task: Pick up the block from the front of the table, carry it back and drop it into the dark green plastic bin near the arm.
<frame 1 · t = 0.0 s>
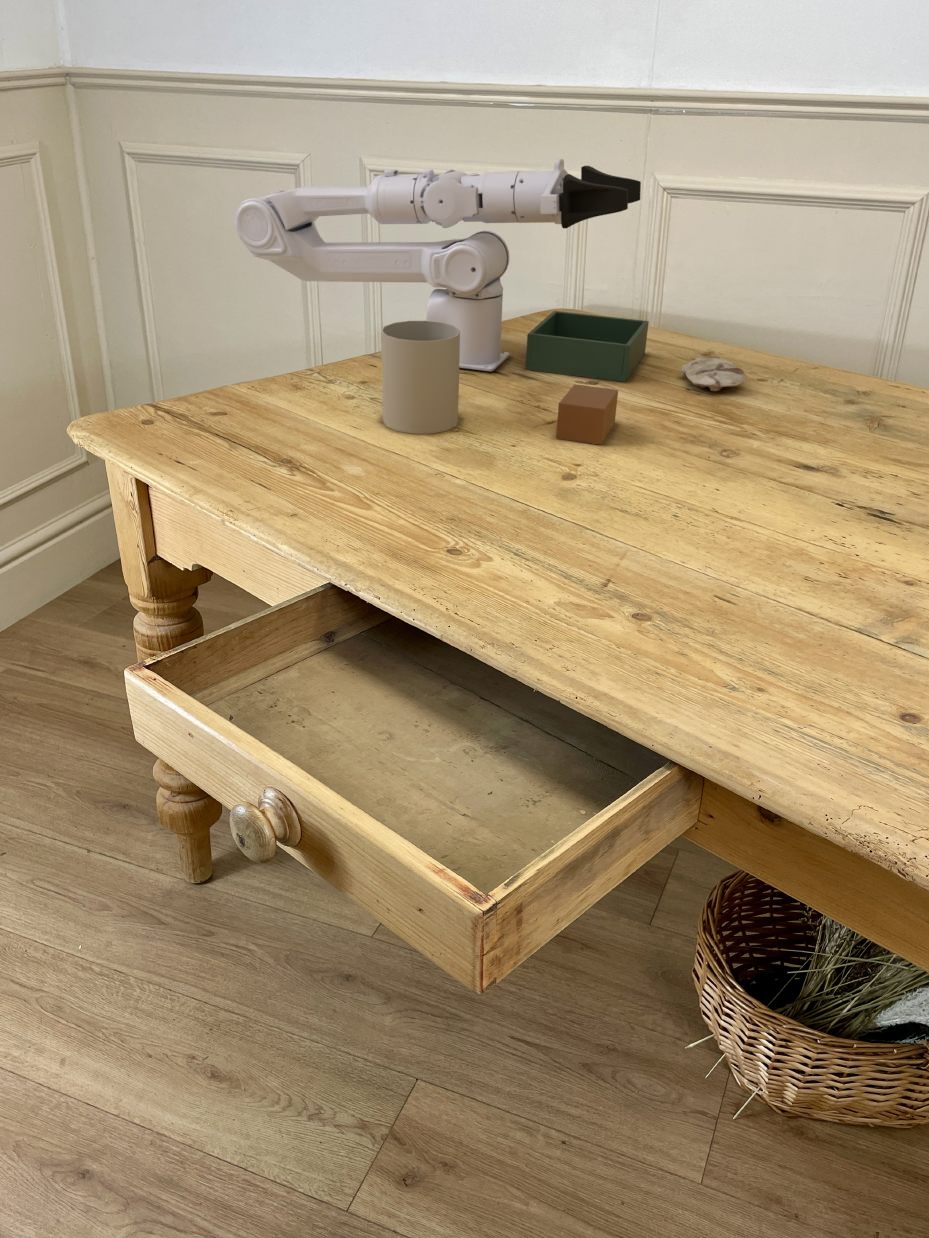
hand: (634, 195, 115), 22 cm above the table, tool horizontal, fingers open, 7 cm apart
stone: (712, 386, 125), on the table
block: (585, 431, 109), on the table
bin: (586, 362, 132), on the table
cup: (420, 422, 111), on the table
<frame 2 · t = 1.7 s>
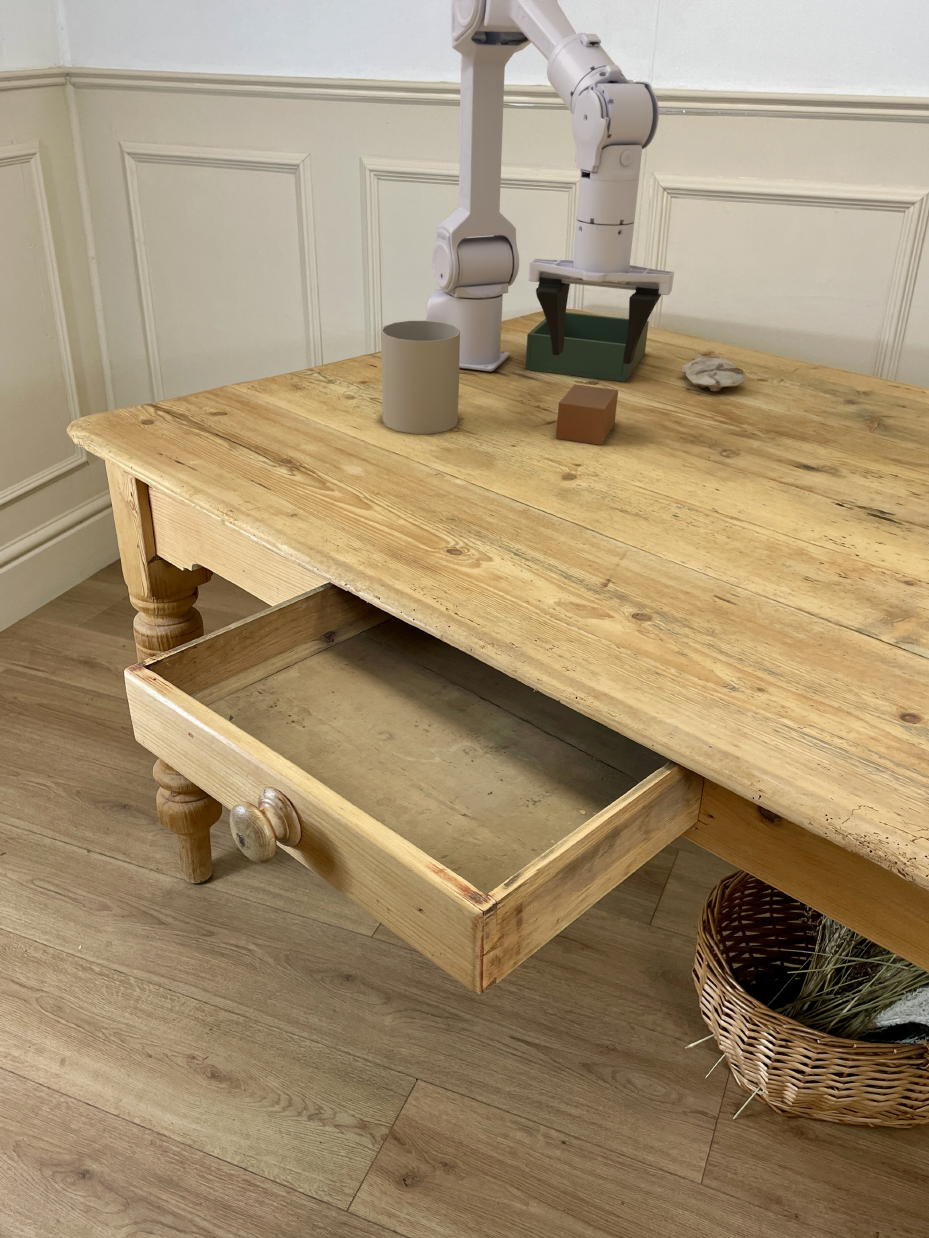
hand: (592, 357, 105), 8 cm above the table, tool pointing down, fingers open, 7 cm apart
nothing on the table moved.
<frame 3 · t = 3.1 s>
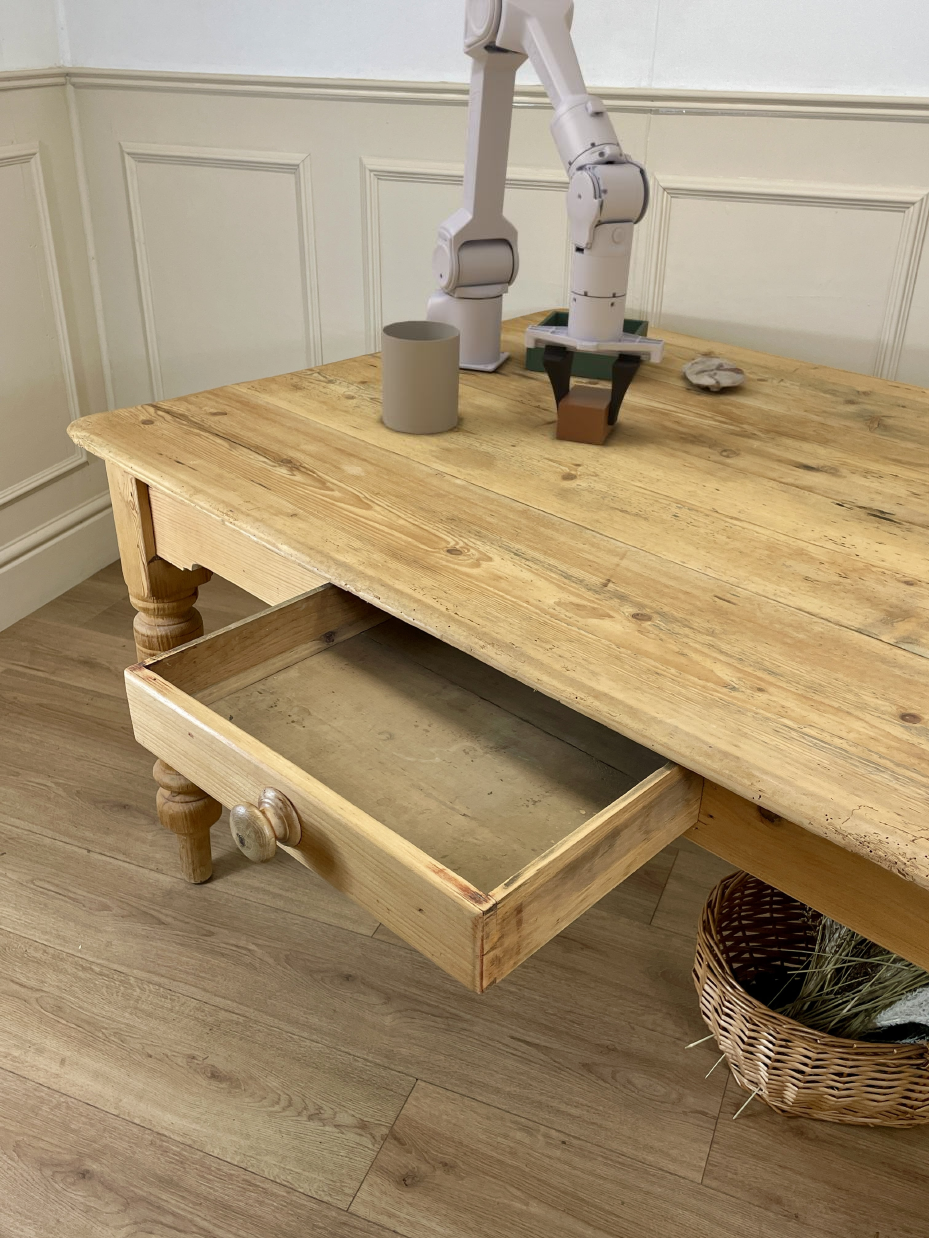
hand: (586, 419, 109), 1 cm above the table, tool pointing down, fingers closed on block, 5 cm apart
block: (586, 431, 109), on the table, touching gripper
everything else where it was.
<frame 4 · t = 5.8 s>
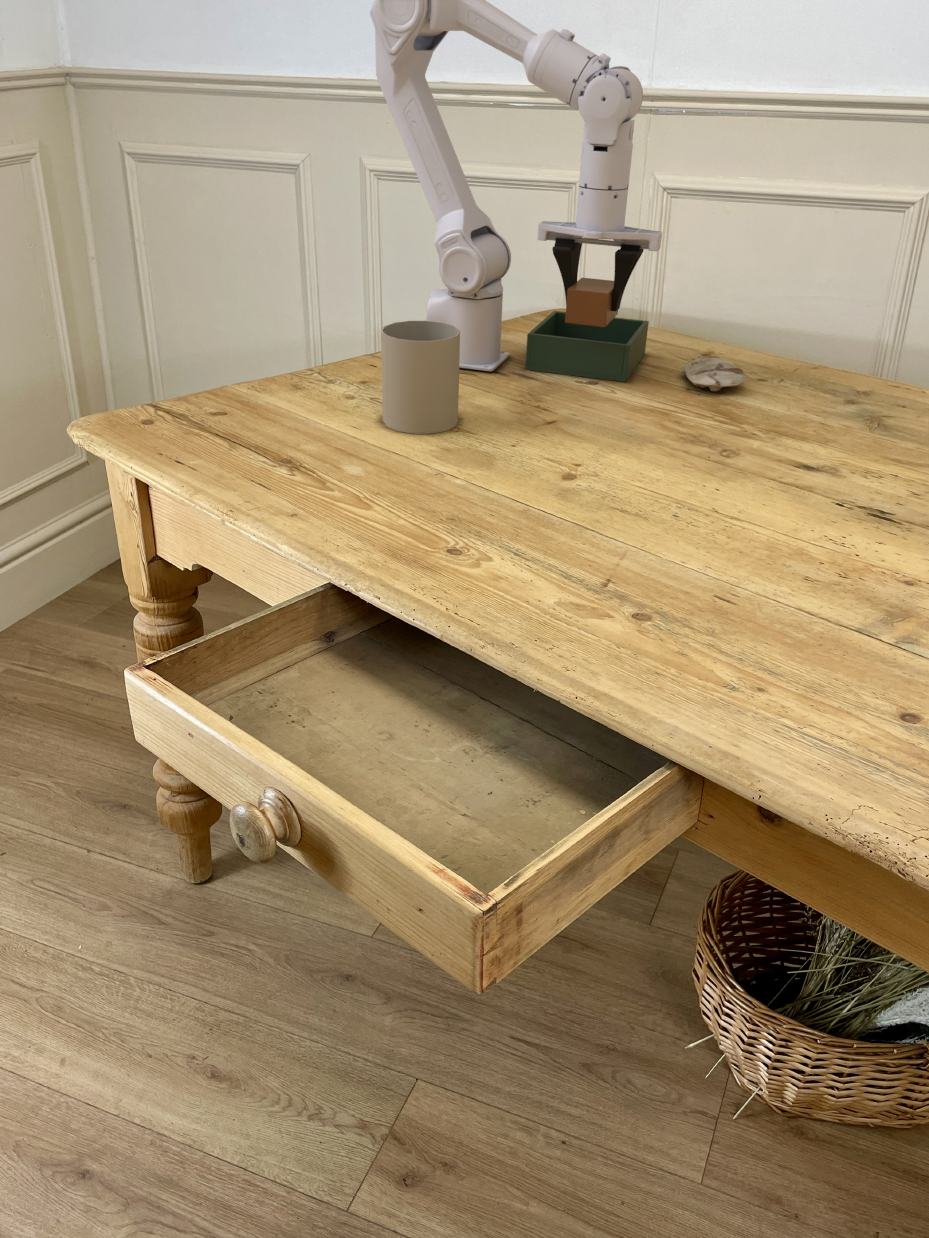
hand: (592, 307, 122), 9 cm above the table, tool pointing down, fingers closed on block, 5 cm apart
block: (591, 318, 122), point 7 cm above the table, touching gripper
everything else where it was.
when the fingers open (2 cm above the table, at t = 8.9 s): block stays where it is, resting on bin.
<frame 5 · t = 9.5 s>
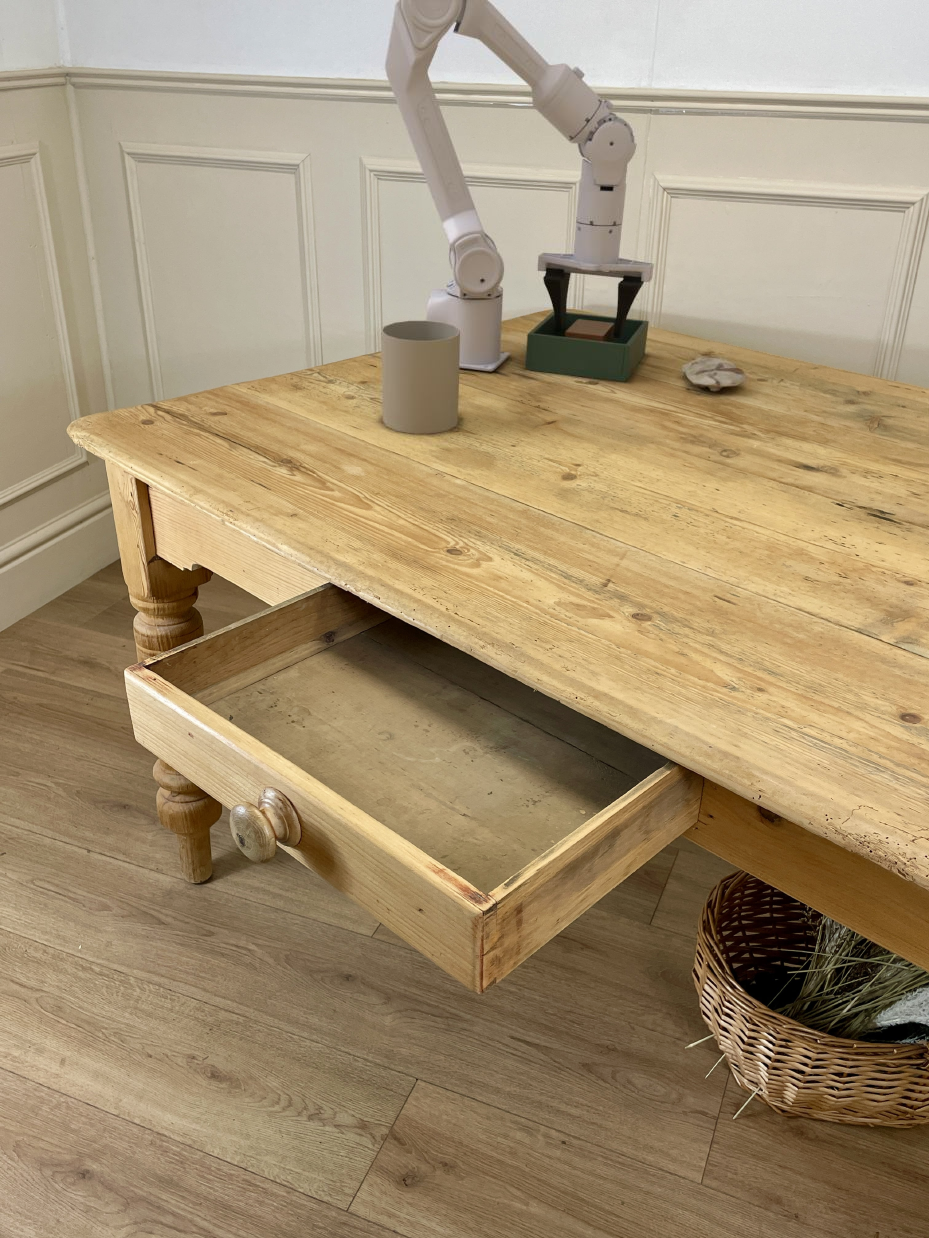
hand: (588, 332, 130), 4 cm above the table, tool pointing down, fingers open, 7 cm apart
block: (587, 357, 132), point 1 cm above the table, touching bin
everything else where it was.
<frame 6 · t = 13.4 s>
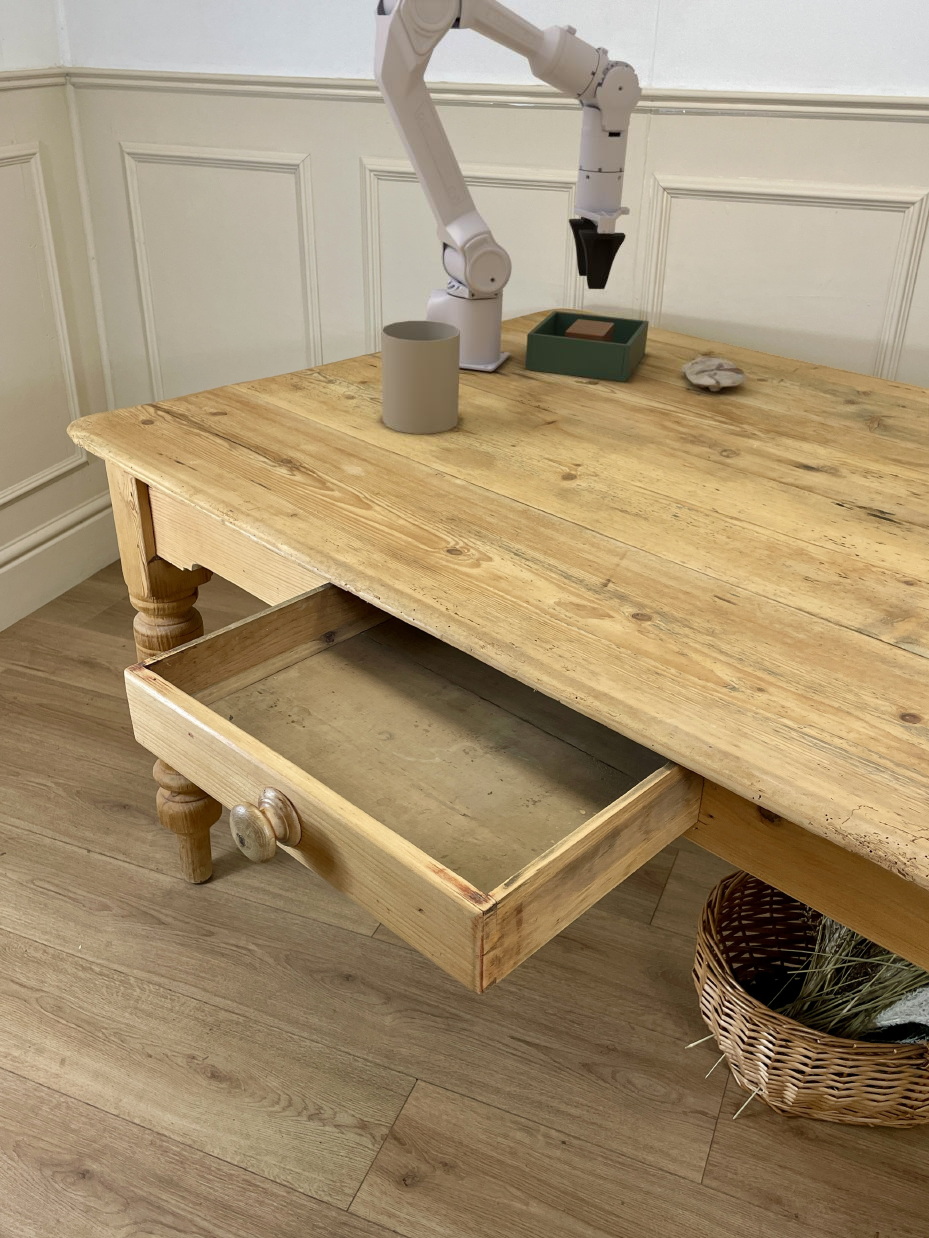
hand: (591, 282, 131), 9 cm above the table, tool pointing down, fingers open, 7 cm apart
nothing on the table moved.
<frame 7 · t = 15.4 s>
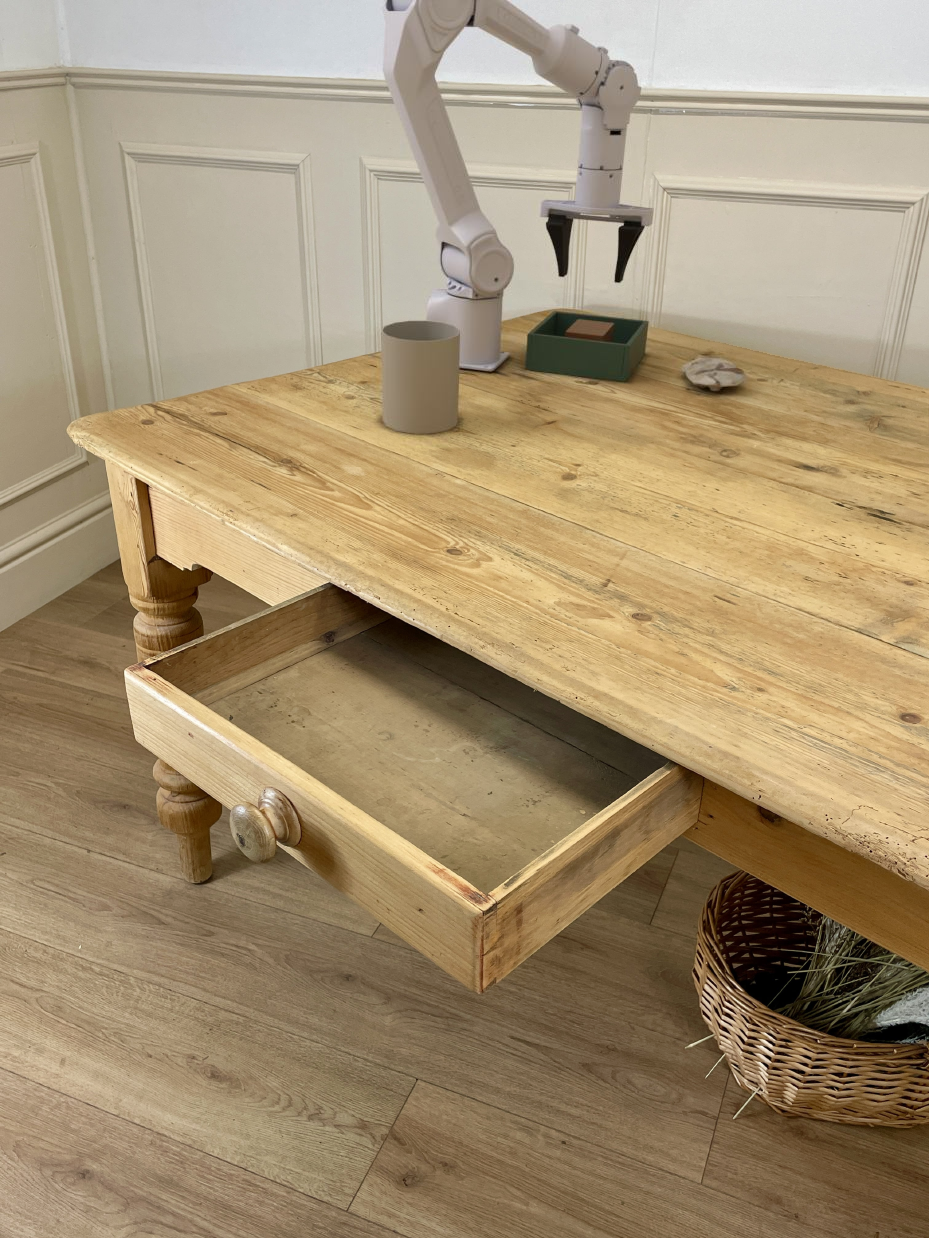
hand: (590, 278, 133), 9 cm above the table, tool pointing down, fingers open, 7 cm apart
nothing on the table moved.
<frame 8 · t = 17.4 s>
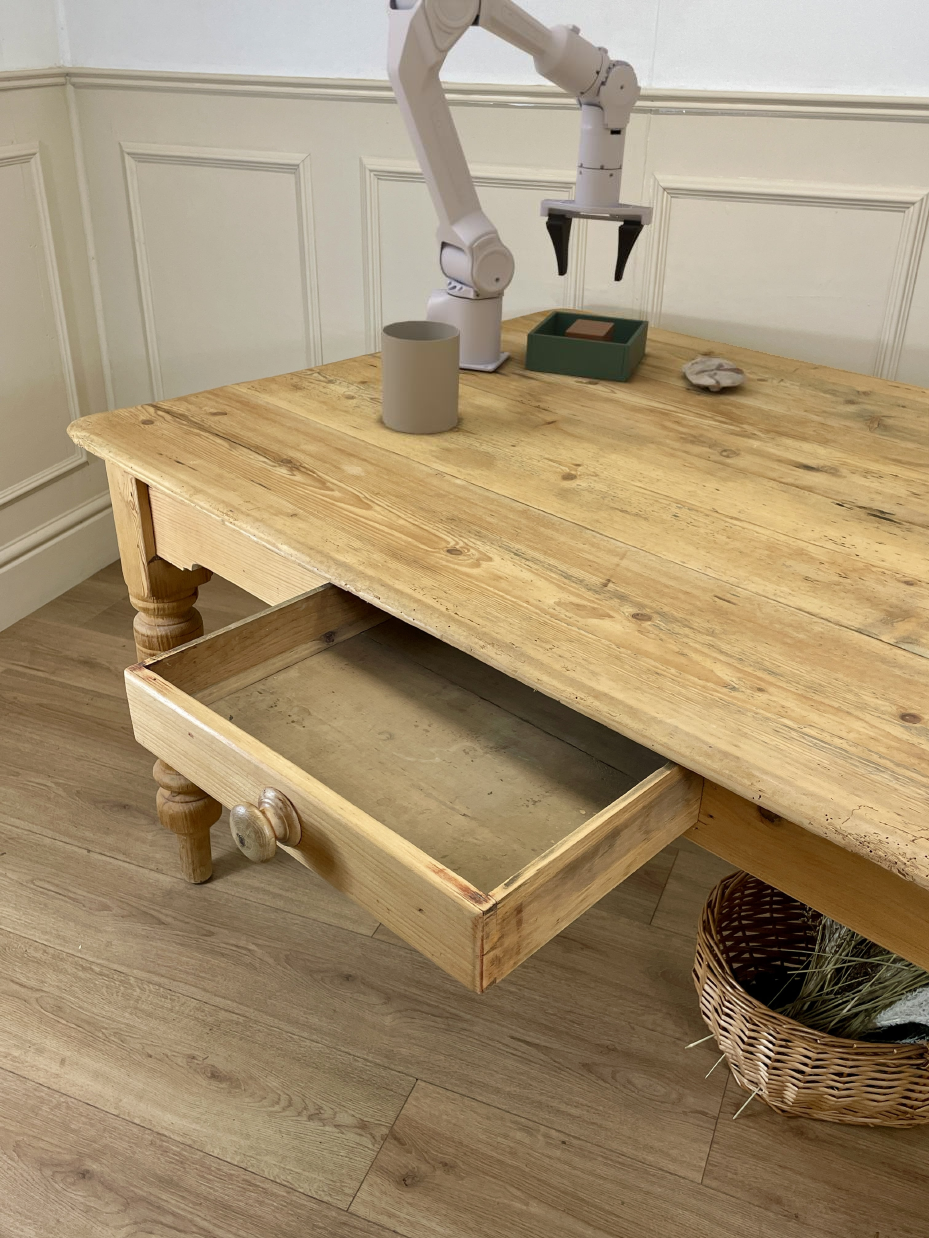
hand: (590, 277, 134), 9 cm above the table, tool pointing down, fingers open, 7 cm apart
nothing on the table moved.
at the end: block inside the target area in the bin (0.1 cm from its centre), point 0.6 cm above the bin's base; the gripper is holding nothing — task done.
